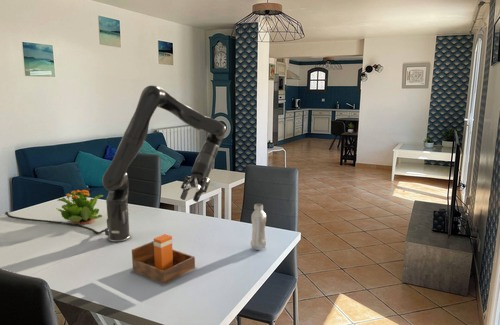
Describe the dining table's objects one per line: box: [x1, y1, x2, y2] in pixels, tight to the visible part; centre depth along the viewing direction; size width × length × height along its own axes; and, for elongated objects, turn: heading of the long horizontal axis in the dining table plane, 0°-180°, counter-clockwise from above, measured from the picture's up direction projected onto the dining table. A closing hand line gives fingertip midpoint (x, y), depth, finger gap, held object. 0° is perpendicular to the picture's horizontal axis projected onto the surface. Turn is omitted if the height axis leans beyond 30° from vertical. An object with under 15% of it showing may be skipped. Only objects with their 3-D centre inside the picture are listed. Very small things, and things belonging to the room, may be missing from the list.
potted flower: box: [56, 189, 104, 226], centre depth 197 cm, size 25×24×18 cm
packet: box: [153, 233, 173, 271], centre depth 143 cm, size 4×6×13 cm
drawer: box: [131, 240, 196, 285], centre depth 144 cm, size 18×16×9 cm
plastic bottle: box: [250, 203, 267, 251], centre depth 163 cm, size 6×7×20 cm
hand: (188, 200), depth 154 cm, fingers open, 8 cm apart
